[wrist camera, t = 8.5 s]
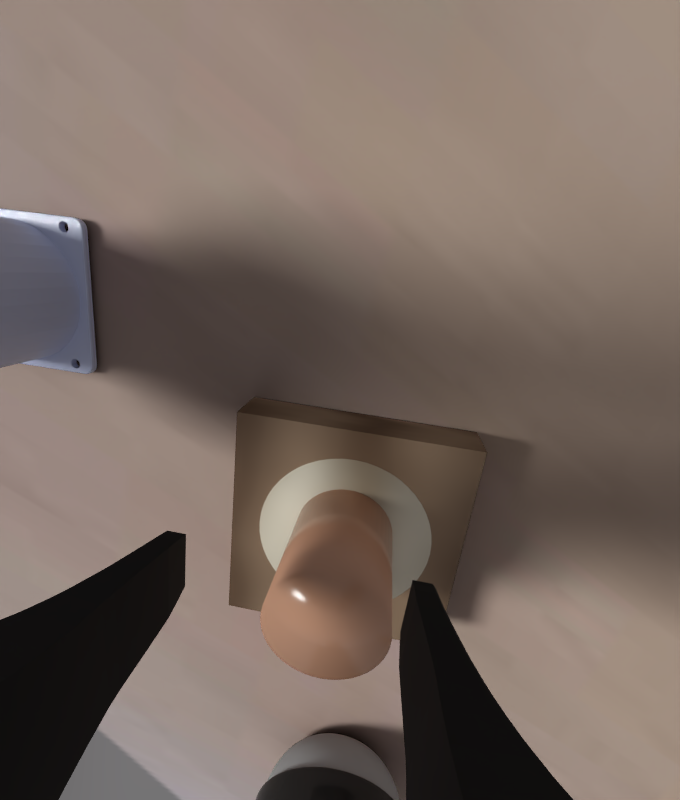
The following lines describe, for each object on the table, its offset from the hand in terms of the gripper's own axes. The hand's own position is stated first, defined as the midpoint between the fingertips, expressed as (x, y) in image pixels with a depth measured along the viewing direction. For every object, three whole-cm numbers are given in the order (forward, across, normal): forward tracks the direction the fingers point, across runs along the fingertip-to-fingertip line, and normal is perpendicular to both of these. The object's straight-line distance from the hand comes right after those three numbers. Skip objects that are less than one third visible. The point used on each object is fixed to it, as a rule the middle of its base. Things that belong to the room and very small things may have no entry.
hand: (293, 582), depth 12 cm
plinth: (+10, -1, +4) cm, 11 cm away
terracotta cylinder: (+8, -1, +4) cm, 9 cm away
